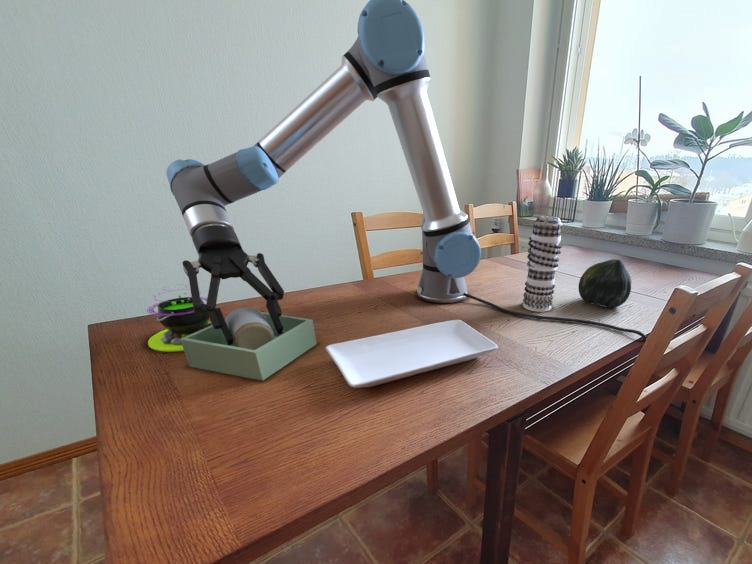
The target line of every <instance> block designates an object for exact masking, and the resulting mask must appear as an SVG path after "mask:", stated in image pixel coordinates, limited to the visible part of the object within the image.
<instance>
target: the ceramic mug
mask: <svg viewBox="0 0 752 564" xmlns="http://www.w3.org/2000/svg"><path fill="white" fill-rule="evenodd" d="M261 312H262V311H259V310H258V309H256V308H254V307H249V306H247V307H246V306H243V307H238V308H235V309H232V310H231V311H230V312H229V313H228V314H227V315H226V316H225V317H224V319H225V322H226V324H227V327H228V329H229V332H230V334H231V336H232V339H233V345H234V347H240V348H245V349H251V350H256V349H258V348H259V347H261V346H263V345H265V344H266V343H268V342H270V341H272V340H273V339H275V338H277V337H274V335H277V336H280V335H282V334H284V333H286V331H284V330H283V331H282V333H281V334H278V333H277V331H276V328H275V327H271V326H270V324H269V323H268V321H267V319H266V317H265V316H264V315H263V314H262V313H261Z"/></svg>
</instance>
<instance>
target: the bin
mask: <svg viewBox="0 0 752 564" xmlns="http://www.w3.org/2000/svg"><path fill="white" fill-rule="evenodd" d="M260 312H261V313H262V314H263V315H264V316H265V317H266V319H267V321H268V323H269V324H270V326H271V327H275V326H274V324H273V321H272V319H271V317H270V314H269V312H265V311H260ZM279 319H280V321H281V324H282V326H283V330H284V331H286V333H284V334H282V335H280V336H277V335H274V337H277V338H275V339H273V340H272V341H270V342H268V343H266V344H265V345H263V346H261V347H259V348H258V349H256V350H251V349H245V348H240V347H234V345H228V344H227V342H226V339H225V337H224V334H223V332H222V330H221V328H220V329H214V328H213V326H212V325H211V326H209V327H207V328H204V329H202V330H200V331H198V332H195V333H193V334H191V335H188V336H186V337H184V338H182V339H180V341H181V344H182V346H183V349H184V351H183V352H184V354H185V357H186V360H187V362H188V365H189V367H190V368H196V369H200V370H205V371H210V372H216V373H222V374H226V375H231V376H236V377H242V378H246V379H252V380H257V381H265V380H266V379H267V378H269V377H270V376H273V374H275V373H276V372H278V371H279V370H281V369H283V368H284V367H285V366H287V365H288V364H290V363H291V362H292V361H294V360H296V359H297V358H299V357H300V356H301V355H303V354H305V353H306V352H308V351H309V350H311V349H312V348H313V347H314V346H317V344H318V343H317V338H316V332H315V327H314V320H313V319H312V318H311V319H310V318H304V317H298V316H292V315H291V316H290V315H285V314H281V316H280V317H279Z"/></svg>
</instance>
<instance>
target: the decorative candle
mask: <svg viewBox="0 0 752 564" xmlns="http://www.w3.org/2000/svg"><path fill="white" fill-rule="evenodd" d="M532 224H533V225H532V233H531V237H530V236H529V238H528V240H529V241H528V243H527V245H528V246H529V248H528V249H527V253H528V254H527V255H526V259H528V261H527V262H526V266H527V269H528V270H527V275H526V281H525V283H524V286H525V287H524V290H523V291H525V292H524V293H523V294H522V295H523V299H522V302H523V304H522V307H523V308H524V309H526V310H528V311H532V312H537V313H542V312H543V313H545V312H549V311H550V310H552V305H553V300H554V295H553V294H554V293H555V290H554V289H555V287H556V285H555V280H556V279H555V275H556V271H557V270H558V267H559V264H558V262H559V261H560V258H559V257H558V256H559V255H561V254H562V252H561V250H560V249H562V248H563V246H562V245H561V239H562V235H561V233H562V227H563V226H564V223H563V222H562V221H561V218H560V217H558V216H553V215H539V216H538V217H537V218H536V219H535V220H533V221H532Z"/></svg>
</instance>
